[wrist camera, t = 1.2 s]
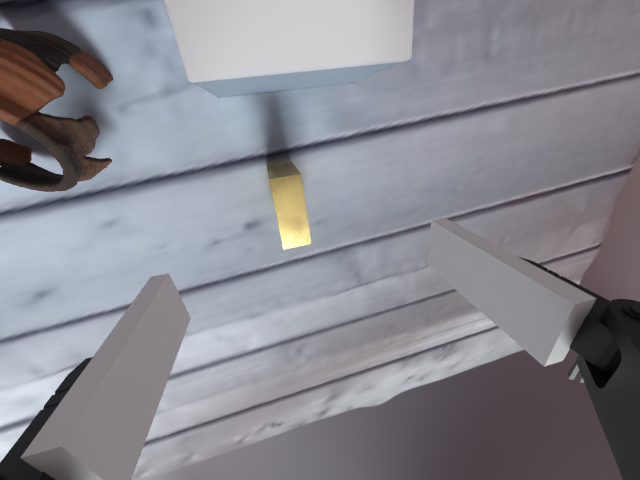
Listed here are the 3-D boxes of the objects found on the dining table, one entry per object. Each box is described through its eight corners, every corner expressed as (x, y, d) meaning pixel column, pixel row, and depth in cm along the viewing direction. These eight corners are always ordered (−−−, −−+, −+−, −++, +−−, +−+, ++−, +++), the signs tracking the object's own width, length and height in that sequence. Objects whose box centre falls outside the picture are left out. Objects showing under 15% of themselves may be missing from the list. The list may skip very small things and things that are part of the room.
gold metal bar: (278, 219, 27) (283, 249, 21) (266, 164, 24) (268, 179, 18) (299, 215, 27) (311, 243, 21) (290, 160, 24) (300, 174, 18)
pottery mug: (159, 99, 20) (112, 161, 16) (114, 157, 25) (67, 218, 20) (-83, -99, 12) (-333, -98, 8) (-84, 39, 17) (-241, 94, 12)
